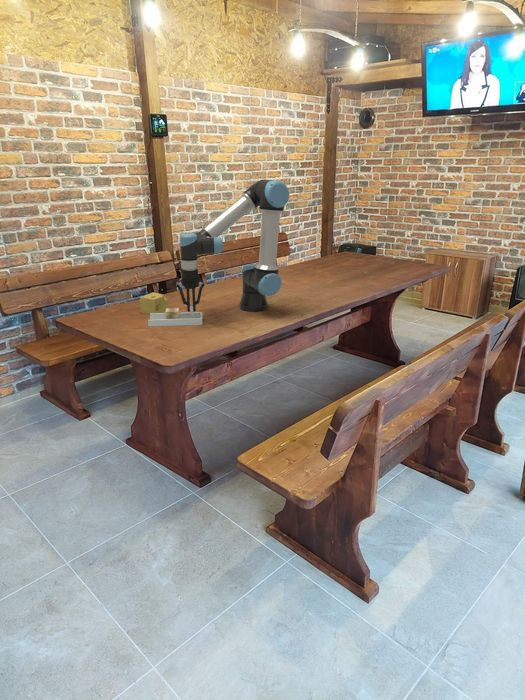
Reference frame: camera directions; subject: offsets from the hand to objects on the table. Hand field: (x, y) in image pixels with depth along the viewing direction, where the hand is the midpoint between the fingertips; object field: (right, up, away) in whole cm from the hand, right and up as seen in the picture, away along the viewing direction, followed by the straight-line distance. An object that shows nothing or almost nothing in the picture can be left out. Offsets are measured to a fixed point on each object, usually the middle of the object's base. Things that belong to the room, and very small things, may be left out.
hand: (192, 318), depth 232 cm
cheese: (-21, +3, +16) cm, 26 cm away
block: (-9, -2, 0) cm, 9 cm away
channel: (-8, -3, 0) cm, 9 cm away
